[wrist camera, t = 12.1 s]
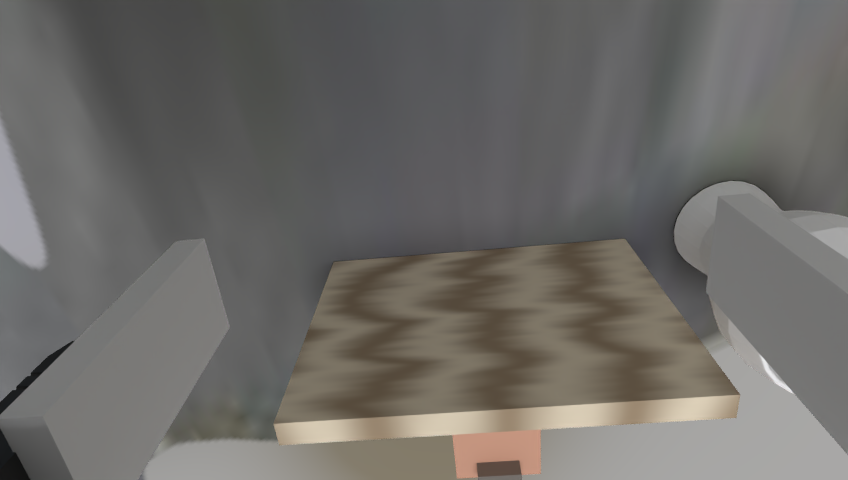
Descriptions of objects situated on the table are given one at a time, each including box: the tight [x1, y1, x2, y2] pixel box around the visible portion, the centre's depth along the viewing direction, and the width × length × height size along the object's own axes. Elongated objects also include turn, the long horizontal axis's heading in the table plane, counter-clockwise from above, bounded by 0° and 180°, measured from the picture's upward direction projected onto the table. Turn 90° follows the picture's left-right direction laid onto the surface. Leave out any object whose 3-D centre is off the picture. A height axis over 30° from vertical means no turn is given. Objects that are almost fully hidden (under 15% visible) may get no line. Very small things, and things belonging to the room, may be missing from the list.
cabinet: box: [453, 430, 541, 480], centre depth 41 cm, size 6×10×9 cm, turn 5°
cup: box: [674, 181, 848, 393], centre depth 38 cm, size 11×11×15 cm
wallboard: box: [274, 239, 740, 445], centre depth 39 cm, size 24×5×19 cm, turn 96°
